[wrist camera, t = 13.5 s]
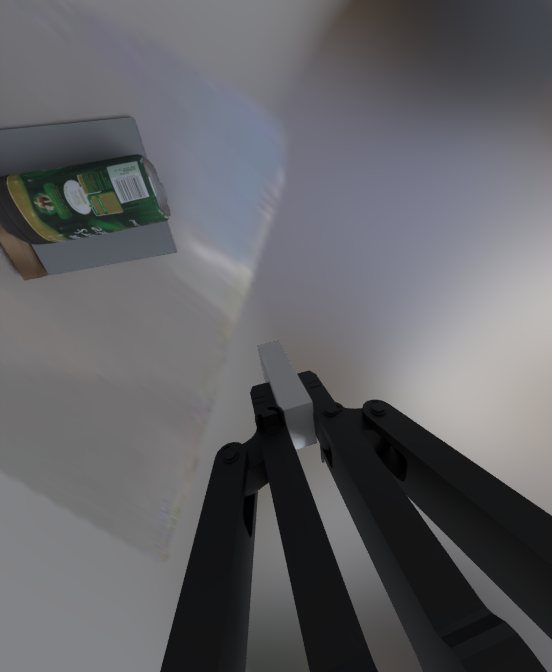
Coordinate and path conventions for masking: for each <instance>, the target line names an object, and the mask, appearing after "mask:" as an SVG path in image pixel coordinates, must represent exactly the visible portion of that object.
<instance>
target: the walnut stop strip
mask: <svg viewBox="0 0 552 672" xmlns="http://www.w3.org/2000/svg"><path fill="white" fill-rule="evenodd" d="M0 242H1V244H2V245H3V247H4V248H5V250H6V252H7V253H8V255H9V256H10V258H11V260H12V261H13V263H14V264H15V266H16V268H17V269H18V271H19V272H20V274H21V276H22V277H23V279H24V280H29V279H35V278H40V277H43V276H47V275H48V273H47V271H46V270H45V268H44V266H43V264H42V263H41V261H40V259H39V257H38V256H37V254H36V252H35V251H34V249H33V247H32V245H31V244H30V243H27V242H24V241H22V240H20V239H18V238H16V237H15V236H13V235H11V234H9V233H7V232H6V231H5V229H4V228H3V227H2V225H1V224H0Z"/></svg>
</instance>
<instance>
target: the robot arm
mask: <svg viewBox="0 0 552 672" xmlns="http://www.w3.org/2000/svg"><path fill="white" fill-rule="evenodd" d="M258 351H259V356H260V360H261V365H262V369H263V374H264V379H265V382H266V383H263V384H260V385H256V386H253V387H252V389H251V392H250V394H251V399H252V404H253V408H254V413H255V422H256V426H257V430H256V433H255V434H254V436H253V437H252V438H251V439H250V440H248V441H247V442H245V443H244V444H241V443H239V442H238V443H237V442H232V443H228V444H226V445H225V446H223V447H222V448H221V449H220V450H219V451H218V452H217V455H216V457H215V460H214V464H213V468H212V472H211V476H210V480H209V484H208V488H207V492H206V495H205V499H204V503H203V507H202V511H201V515H200V519H199V523H198V527H197V530H196V535H195V538H194V542H193V546H192V550H191V554H190V558H189V562H188V566H187V570H186V573H185V577H184V582H183V585H182V589H181V593H180V597H179V601H178V605H177V609H176V612H175V617H174V620H173V624H172V628H171V632H170V636H169V640H168V644H167V648H166V652H165V655H164V659H163V663H162V667H161V671H160V672H245V669H246V653H247V640H248V626H249V625H248V624H249V611H250V597H251V582H252V568H253V553H254V538H255V525H256V510H257V495H258V490H259V489H261V488H262V487H263V486H265V485H266V484H267V483H269V484H270V489H271V493H272V498H273V503H274V508H275V512H276V517H277V522H278V526H279V531H280V535H281V540H282V545H283V549H284V554H285V559H286V563H287V568H288V573H289V577H290V582H291V586H292V591H293V595H294V600H295V605H296V610H297V614H298V619H299V624H300V628H301V633H302V637H303V642H304V646H305V651H306V656H307V660H308V665H309V669H310V672H378V671H377V669H376V666H375V664H374V662H373V659H372V657H371V654H370V651H369V649H368V646H367V644H366V641H365V638H364V635H363V632H362V630H361V627H360V624H359V621H358V619H357V616H356V613H355V611H354V608H353V605H352V602H351V600H350V597H349V595H348V591H347V589H346V586H345V583H344V581H343V578H342V575H341V572H340V570H339V567H338V564H337V562H336V559H335V556H334V553H333V550H332V548H331V545H330V542H329V540H328V537H327V534H326V531H325V529H324V526H323V523H322V521H321V518H320V515H319V512H318V510H317V507H316V504H315V501H314V499H313V496H312V493H311V490H310V488H309V485H308V482H307V480H306V477H305V474H304V471H303V469H302V466H301V463H300V460H299V458H298V455H297V452H296V449H299V448H303V447H306V446H309V445H312V444H315V443H317V439H318V441H319V443H320V450H321V459H322V462H324V459H325V461H326V464H327V466H328V467H329V470H330V472H331V474H332V476H333V478H334V481H335V483H336V485H337V487H338V489H339V491H340V493H341V495H342V498H343V500H344V502H345V504H346V506H347V508H348V510H349V512H350V515H351V517H352V519H353V521H354V523H355V525H356V527H357V530H358V532H359V534H360V536H361V538H362V540H363V542H364V545H365V547H366V549H367V551H368V553H369V555H370V557H371V560H372V562H373V564H374V566H375V568H376V570H377V572H378V574H379V577H380V579H381V581H382V583H383V585H384V587H385V589H386V592H387V593H388V596H389V598H390V600H391V602H392V604H393V607H394V609H395V611H396V613H397V615H398V617H399V619H400V621H401V624H402V626H403V628H404V630H405V632H406V634H407V636H408V638H409V641H410V642H411V645H412V647H413V649H414V651H415V653H416V655H417V658H418V660H419V662H420V665H421V667H422V670H423V672H547V671H546V670H545V668H544V667H543V666H542V664H541V663H540V661H539V660H538V659H537V657H536V656H535V655H534V653H533V652H532V651H531V649H530V648H529V647H528V646H527V644H526V643H525V642H524V641H523V639H522V638H521V637H520V636H519V635H518V633H516V631H515V630H514V629H513V628H512V627H511V626H510V625H509V624H507V623H506V622H505V621H503V620H502V619H501V618H499V617H497V616H496V615H494V614H493V613H492V612H491V611H490V610H489V609H487V607H486V606H485V605H484V604H483V602H482V601H481V600H480V598H479V597H478V596H477V594H476V593H475V591H474V590H473V589H472V587H471V586H470V584H469V583H468V582H467V580H466V579H465V577H464V576H463V574H462V573H461V572H460V570H459V569H458V567H457V566H456V565H455V563H454V562H453V561H452V559H451V558H450V556H449V555H448V553H447V552H446V550H445V549H444V548H443V546H442V545H441V543H440V542H439V541H438V540H437V538H436V537H435V535H434V534H433V532H432V531H431V530H430V528H429V527H428V525H427V524H426V522H425V521H424V520H423V518H422V517H421V515H420V514H419V512H418V511H417V510H416V508H415V507H414V505H413V504H412V503H411V501H410V500H409V498H410V499H411V500H412V501H413V502H414V503H415V504H416V505H417V506H418V507H419V508H420V509H421V510H422V511H423V512H424V513H425V514H426V515H427V516H428V517H429V518H430V519H431V520H432V521H433V522H434V523H435V524H436V525H437V526H438V527H439V528H440V529H441V530H442V531H443V532H444V533H445V534H446V535H447V536H448V537H449V538H450V539H451V540H452V541H453V542H454V543H455V544H456V545H457V546H458V547H459V548H460V549H461V550H462V551H463V552H464V553H465V554H466V555H467V556H468V557H469V558H470V559H471V560H472V561H473V562H474V563H475V564H476V565H477V566H478V567H479V568H480V569H481V570H482V571H483V572H484V573H486V575H487V576H488V577H489V578H490V579H491V580H492V581H493V582H494V583H495V584H496V585H497V586H498V587H499V588H500V589H501V590H502V591H503V592H504V593H505V594H506V595H507V596H508V597H509V598H510V599H511V600H512V601H513V602H514V603H515V604H516V605H518V607H519V608H521V609H522V611H524V613H525V614H527V615H528V617H529V618H530V619H532V620H533V622H535V623H536V624H537V625H538V626H539V627H540V628H541V629H542V630H543V631H544V632H545V633H546V634H547V635H548V636H549V637H550V638H551V639H552V516H551V515H550V514H548V513H546V512H545V511H544V510H542V509H541V508H539V507H538V506H537V505H535V504H534V503H532V502H531V501H529V500H528V499H526V498H525V497H523V496H522V495H521V494H519V493H518V492H516V491H515V490H513V489H512V488H510V487H509V486H507V485H506V484H505V483H503V482H502V481H500V480H499V479H497V478H496V477H494V476H493V475H491V474H490V473H489V472H487V471H486V470H484V469H483V468H481V467H480V466H478V465H477V464H475V463H474V462H473V461H471V460H470V459H468V458H467V457H465V456H464V455H462V454H461V453H459V452H458V451H457V450H455V449H454V448H452V447H451V446H449V445H448V444H446V443H445V442H443V441H442V440H440V439H439V438H438V437H436V436H435V435H433V434H432V433H430V432H429V431H427V430H426V429H424V428H423V427H422V426H420V425H419V424H417V423H416V422H414V421H413V420H411V419H410V418H408V417H407V416H406V415H404V414H403V413H401V412H400V411H398V410H397V409H395V408H394V407H392V406H391V405H390V404H388V403H386V402H384V401H381V400H370V401H367V402H365V404H363V408H360V409H359V408H358V409H349V408H344V407H343V406H342V405H341V404H339V403H337V402H335V401H334V400H333V399H332V397H331V396H330V394H329V393H328V392H327V390H326V388H325V387H324V386H323V384H322V383H321V381H320V380H319V378H318V377H317V375H316V374H314V373H313V372H311V371H306V372H302V373H298V374H297V373H296V371H295V370H294V368H293V366H292V364H291V362H290V360H289V359H288V357H287V355H286V353H285V352H284V350H283V348H282V346H281V345H280V343H279V341H274V342H270V343H266V344H262V345H258ZM316 437H317V439H316ZM406 495H407V496H408V497H409V498H408V497H407V496H406Z"/></svg>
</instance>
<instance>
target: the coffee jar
mask: <svg viewBox="0 0 552 672" xmlns="http://www.w3.org/2000/svg"><path fill="white" fill-rule="evenodd" d="M169 217H170V210H169V207H168V205H167V196H166V193H165V190H164V187H163V185H162V184H161V183H160V182H159V179H158V177H157V173H156V170H155V168H154V166H153V165H152V163H151V162H150V161H149V160H148V159H147V158H146V157H144V156H142V155H139V154H135V155H128V156H122V157H117V158H111V159H106V160H100V161H95V162H89V163H83V164H77V165H71V166H66V167H60V168H54V169H48V170H41V171H34V172H26V173H18V174H10V175H5V176H0V224H1V225H2V227H3V228H4V229H5V231H6V232H7V233H9V234H11V235H13V236H15V237H16V238H18V239H20V240H22V241H24V242H27V243H30V244H34V245H39V244H51V243H57V242H64V241H69V240H75V239H81V238H86V237H92V236H97V235H102V234H107V233H112V232H116V231H121V230H125V229H130V228H134V227H140V226H144V225H149V224H154V223H159V222H163V221H166V220H168V219H169Z"/></svg>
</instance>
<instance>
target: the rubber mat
mask: <svg viewBox="0 0 552 672" xmlns="http://www.w3.org/2000/svg"><path fill="white" fill-rule="evenodd" d="M135 154H139V155H142V156H144V157H146V158H147V156H146V153H145V150H144V147H143V144H142V141H141V138H140V135H139V132H138V128H137V125H136V122H135V119H134V118H133V117H128V118H118V119H108V120H98V121H87V122H77V123H67V124H57V125H47V126H37V127H27V128H17V129H6V130H0V176H5V175H10V174H18V173H26V172H34V171H41V170H48V169H54V168H60V167H66V166H71V165H77V164H83V163H89V162H95V161H100V160H106V159H111V158H117V157H122V156H128V155H135ZM31 245H32V247H33V248H34V250H35V252H36V254H37V255H38V257H39V259H40V261H41V262H42V264H43V266H44V268H45V269H46V271H47V273H48V274H49V275H53V274H59V273H64V272H70V271H75V270H81V269H87V268H92V267H98V266H103V265H109V264H114V263H120V262H126V261H131V260H137V259H142V258H148V257H153V256H159V255H164V254H170V253H176V252H177V250H176V247H175V244H174V241H173V237H172V234H171V231H170V228H169V225H168V222H167V220H166V221H163V222H159V223H154V224H149V225H144V226H140V227H134V228H130V229H125V230H121V231H116V232H112V233H107V234H102V235H97V236H92V237H86V238H81V239H75V240H69V241H64V242H57V243H51V244H39V245H34V244H31Z"/></svg>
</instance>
